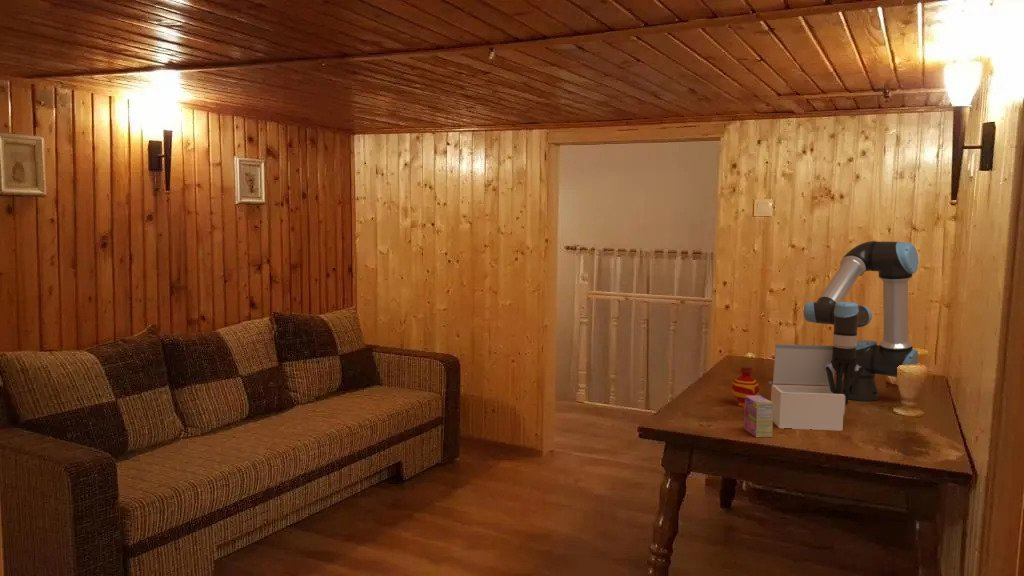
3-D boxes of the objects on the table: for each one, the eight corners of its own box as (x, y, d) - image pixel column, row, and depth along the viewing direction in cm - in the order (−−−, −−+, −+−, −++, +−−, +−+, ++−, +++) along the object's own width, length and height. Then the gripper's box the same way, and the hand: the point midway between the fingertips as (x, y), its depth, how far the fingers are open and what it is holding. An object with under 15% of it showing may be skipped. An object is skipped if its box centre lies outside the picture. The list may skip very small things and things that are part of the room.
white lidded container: (835, 420, 274) (837, 383, 273) (848, 431, 261) (850, 391, 259) (766, 417, 276) (768, 380, 275) (776, 428, 263) (777, 389, 262)
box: (743, 429, 261) (744, 395, 260) (759, 429, 261) (761, 395, 260) (755, 437, 251) (757, 402, 250) (772, 437, 251) (774, 402, 250)
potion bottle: (759, 403, 299) (760, 365, 297) (758, 409, 289) (760, 370, 287) (731, 401, 302) (732, 363, 301) (729, 406, 292) (731, 368, 291)
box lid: (833, 385, 272) (832, 384, 273) (837, 346, 269) (836, 346, 270) (773, 383, 274) (772, 382, 275) (776, 344, 271) (775, 344, 272)
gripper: (859, 345, 268) (856, 411, 270) (821, 344, 269) (818, 410, 271) (867, 348, 260) (864, 416, 262) (828, 348, 261) (825, 415, 263)
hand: (841, 413), depth 267 cm, fingers closed
